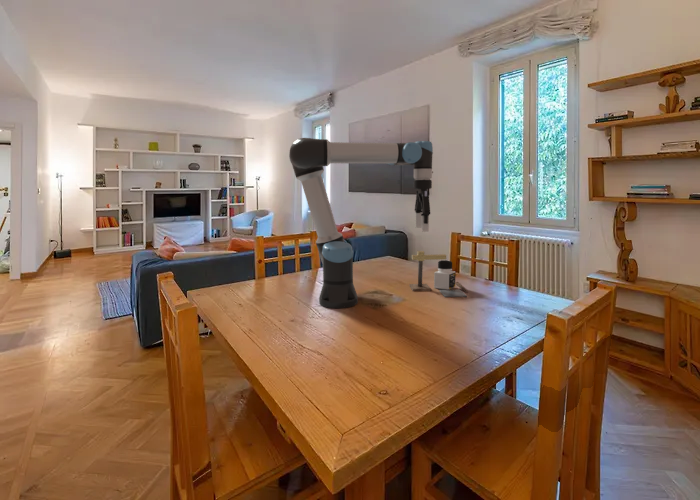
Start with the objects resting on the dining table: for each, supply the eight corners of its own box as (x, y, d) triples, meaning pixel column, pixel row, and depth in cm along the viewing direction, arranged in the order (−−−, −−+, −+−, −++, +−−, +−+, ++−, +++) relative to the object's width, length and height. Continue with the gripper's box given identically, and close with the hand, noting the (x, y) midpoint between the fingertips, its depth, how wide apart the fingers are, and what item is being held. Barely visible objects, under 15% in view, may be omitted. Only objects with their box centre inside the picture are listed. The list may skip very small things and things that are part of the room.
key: (412, 261, 165) (412, 252, 165) (411, 259, 168) (411, 250, 167) (446, 260, 166) (446, 251, 165) (444, 259, 168) (445, 250, 167)
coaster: (445, 297, 156) (445, 295, 156) (439, 290, 165) (439, 289, 164) (466, 296, 156) (466, 295, 156) (460, 290, 165) (460, 289, 165)
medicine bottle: (449, 289, 164) (449, 262, 163) (433, 287, 168) (434, 261, 167) (455, 286, 170) (456, 260, 168) (440, 285, 174) (440, 259, 172)
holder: (413, 293, 162) (414, 264, 160) (408, 284, 176) (408, 257, 173) (467, 292, 162) (468, 263, 160) (457, 283, 176) (458, 257, 174)
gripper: (439, 178, 148) (437, 233, 152) (425, 179, 173) (424, 226, 177) (419, 179, 148) (418, 233, 152) (408, 179, 173) (408, 226, 176)
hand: (421, 229), depth 164 cm, fingers open, 13 cm apart
